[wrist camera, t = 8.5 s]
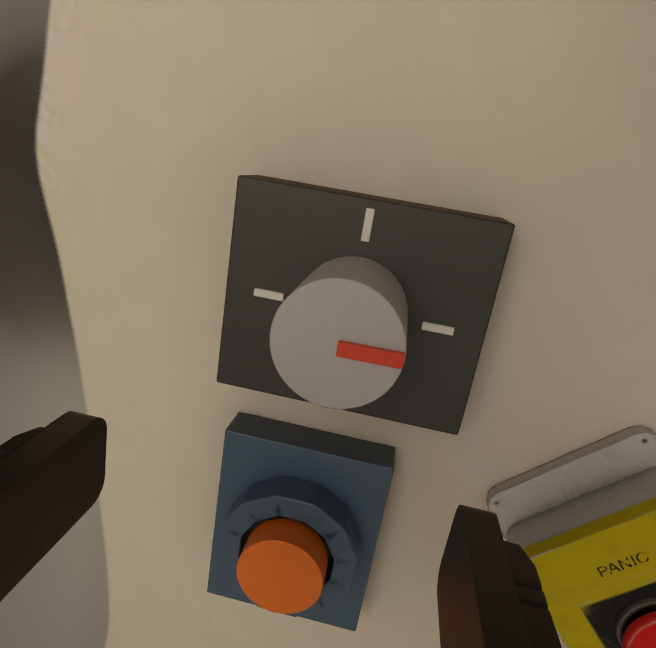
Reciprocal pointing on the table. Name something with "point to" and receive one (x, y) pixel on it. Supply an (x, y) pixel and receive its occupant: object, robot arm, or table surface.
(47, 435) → the robot arm
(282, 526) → the power button
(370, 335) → the knob
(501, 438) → the table surface
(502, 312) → the table surface
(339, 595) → the switch block
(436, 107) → the table surface
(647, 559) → the emergency button
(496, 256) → the dial panel
